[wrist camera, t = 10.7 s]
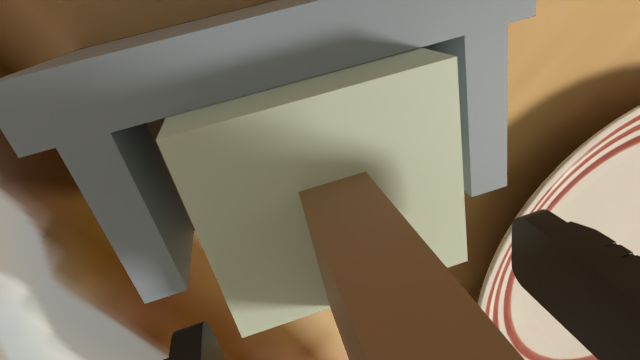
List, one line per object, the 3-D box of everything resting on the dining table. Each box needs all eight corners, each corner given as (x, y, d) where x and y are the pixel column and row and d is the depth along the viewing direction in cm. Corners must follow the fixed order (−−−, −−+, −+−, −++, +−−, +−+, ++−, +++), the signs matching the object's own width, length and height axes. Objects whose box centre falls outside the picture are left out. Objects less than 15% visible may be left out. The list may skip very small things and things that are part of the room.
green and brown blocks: (178, 89, 15) (40, 400, 3) (376, 36, 16) (802, 141, 4) (235, 237, 18) (264, 659, 7) (398, 187, 19) (675, 480, 7)
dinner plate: (775, -15, 24) (851, -16, 21) (755, 271, 37) (802, 294, 34) (393, 218, 25) (416, 247, 22) (503, 420, 38) (528, 455, 35)
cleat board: (75, 50, 17) (-26, 87, 10) (418, -36, 19) (538, -55, 12) (151, 205, 21) (116, 313, 14) (431, 121, 22) (530, 178, 15)
